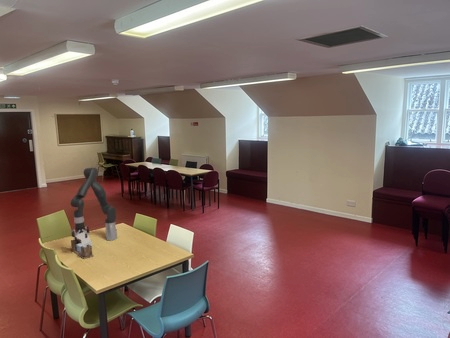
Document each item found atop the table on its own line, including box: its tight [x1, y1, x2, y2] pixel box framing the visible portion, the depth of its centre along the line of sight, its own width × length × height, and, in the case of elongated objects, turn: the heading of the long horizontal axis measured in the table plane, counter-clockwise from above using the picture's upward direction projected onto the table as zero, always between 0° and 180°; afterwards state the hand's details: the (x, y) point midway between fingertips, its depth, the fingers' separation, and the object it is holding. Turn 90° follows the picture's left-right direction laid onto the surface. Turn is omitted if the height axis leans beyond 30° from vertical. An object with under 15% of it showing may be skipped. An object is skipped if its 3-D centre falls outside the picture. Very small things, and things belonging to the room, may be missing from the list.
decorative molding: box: [77, 232, 93, 247], centre depth 310 cm, size 34×5×10 cm
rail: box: [76, 243, 87, 253], centre depth 280 cm, size 4×22×6 cm, turn 46°
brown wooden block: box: [70, 238, 94, 260], centre depth 280 cm, size 8×29×9 cm, turn 46°
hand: (81, 239), depth 279 cm, fingers open, 8 cm apart
